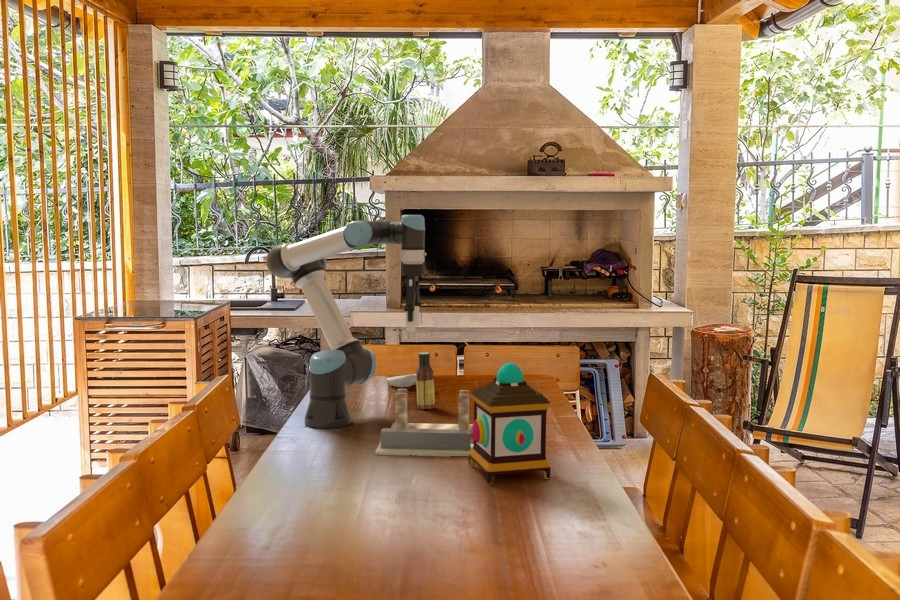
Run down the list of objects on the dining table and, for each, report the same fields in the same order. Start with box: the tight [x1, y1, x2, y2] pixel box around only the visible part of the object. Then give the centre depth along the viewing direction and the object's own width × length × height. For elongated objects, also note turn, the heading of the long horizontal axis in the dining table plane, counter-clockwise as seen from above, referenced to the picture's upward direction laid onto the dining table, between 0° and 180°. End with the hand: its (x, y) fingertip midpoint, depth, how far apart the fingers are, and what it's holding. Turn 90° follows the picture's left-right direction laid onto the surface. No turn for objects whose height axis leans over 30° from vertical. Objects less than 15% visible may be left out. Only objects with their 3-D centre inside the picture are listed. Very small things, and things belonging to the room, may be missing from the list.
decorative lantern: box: [468, 361, 551, 486], centre depth 225 cm, size 20×20×30 cm
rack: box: [390, 388, 473, 433], centre depth 270 cm, size 26×7×12 cm, turn 86°
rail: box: [380, 427, 472, 451], centre depth 247 cm, size 26×4×5 cm, turn 86°
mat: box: [374, 441, 474, 457], centre depth 247 cm, size 28×10×1 cm, turn 86°
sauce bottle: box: [415, 351, 436, 410], centre depth 300 cm, size 7×6×20 cm
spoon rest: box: [386, 373, 417, 388], centre depth 334 cm, size 24×12×7 cm, turn 40°
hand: (412, 328), depth 274 cm, fingers open, 13 cm apart
